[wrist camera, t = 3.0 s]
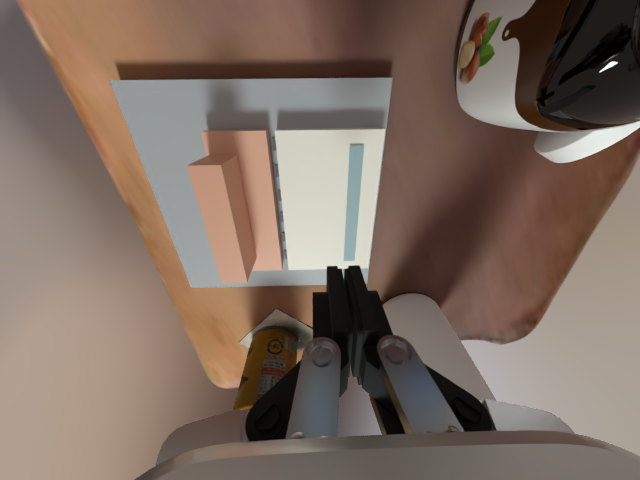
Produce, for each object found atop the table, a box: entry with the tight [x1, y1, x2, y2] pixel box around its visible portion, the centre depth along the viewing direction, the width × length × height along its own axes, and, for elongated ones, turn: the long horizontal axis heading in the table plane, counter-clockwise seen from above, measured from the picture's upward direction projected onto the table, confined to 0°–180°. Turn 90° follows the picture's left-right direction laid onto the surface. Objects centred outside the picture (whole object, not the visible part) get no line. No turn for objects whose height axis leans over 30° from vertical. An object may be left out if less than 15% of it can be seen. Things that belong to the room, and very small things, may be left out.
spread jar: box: [455, 0, 640, 163], centre depth 11 cm, size 12×11×12 cm
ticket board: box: [110, 78, 393, 288], centre depth 19 cm, size 18×19×2 cm
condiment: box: [233, 309, 313, 410], centre depth 25 cm, size 7×8×12 cm
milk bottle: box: [383, 293, 496, 401], centre depth 20 cm, size 8×8×20 cm
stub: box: [187, 130, 283, 283], centre depth 18 cm, size 12×4×4 cm, turn 0°
